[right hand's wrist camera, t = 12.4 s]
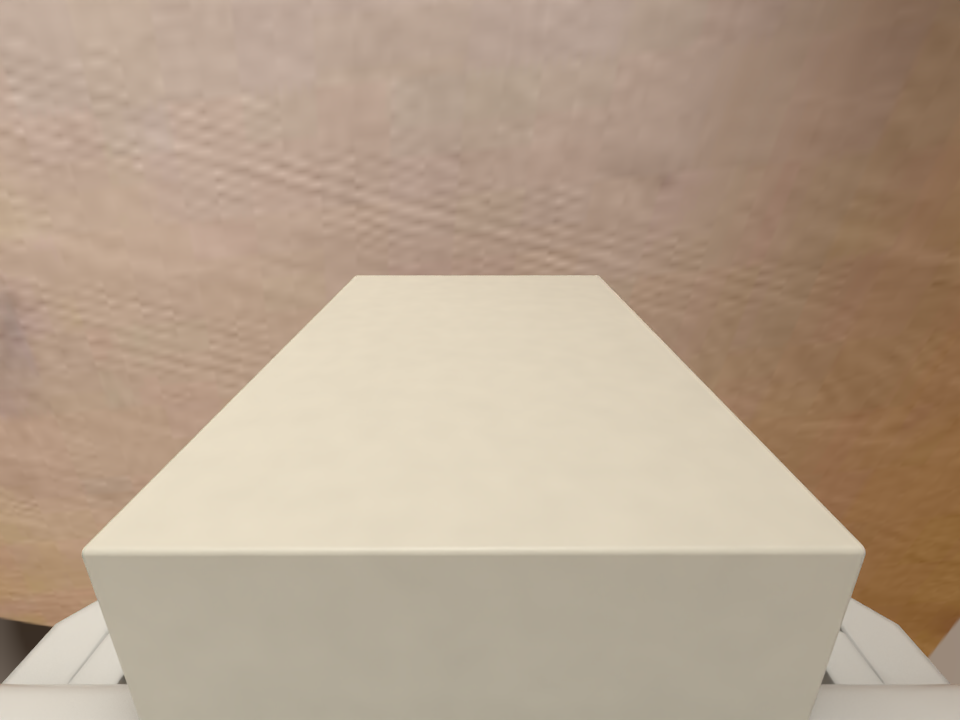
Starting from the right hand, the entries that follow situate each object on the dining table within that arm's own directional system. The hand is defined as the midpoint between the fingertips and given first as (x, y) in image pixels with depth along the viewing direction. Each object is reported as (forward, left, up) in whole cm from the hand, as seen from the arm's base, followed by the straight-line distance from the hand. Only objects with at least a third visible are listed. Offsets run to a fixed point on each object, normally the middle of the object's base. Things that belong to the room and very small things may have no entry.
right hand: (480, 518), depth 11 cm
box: (+2, +9, -5) cm, 10 cm away
